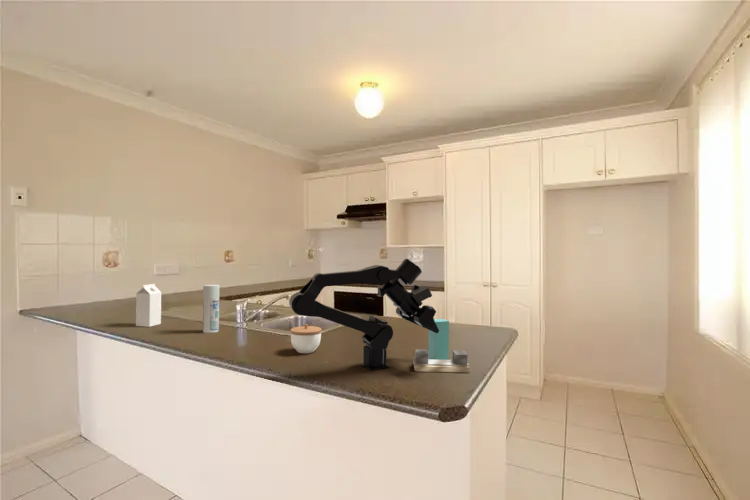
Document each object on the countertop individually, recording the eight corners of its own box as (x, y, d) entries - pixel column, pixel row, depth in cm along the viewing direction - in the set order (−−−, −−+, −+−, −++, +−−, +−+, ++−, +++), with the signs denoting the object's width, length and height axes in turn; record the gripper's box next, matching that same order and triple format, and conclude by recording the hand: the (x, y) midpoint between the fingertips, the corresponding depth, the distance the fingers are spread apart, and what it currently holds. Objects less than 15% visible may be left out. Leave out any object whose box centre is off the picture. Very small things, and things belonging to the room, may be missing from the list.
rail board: (414, 371, 109) (414, 354, 109) (413, 364, 116) (413, 348, 116) (469, 372, 108) (469, 355, 108) (464, 365, 115) (465, 349, 115)
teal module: (434, 363, 117) (435, 321, 117) (428, 359, 121) (428, 319, 121) (448, 361, 119) (449, 321, 119) (441, 357, 123) (442, 318, 123)
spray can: (208, 329, 163) (209, 284, 164) (222, 330, 162) (222, 284, 162) (199, 332, 157) (199, 285, 157) (212, 333, 156) (213, 285, 156)
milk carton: (135, 326, 168) (136, 284, 169) (147, 323, 175) (148, 283, 176) (149, 327, 167) (150, 285, 167) (161, 324, 174) (161, 283, 174)
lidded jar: (327, 350, 131) (327, 323, 131) (305, 357, 122) (305, 328, 122) (306, 345, 137) (306, 320, 137) (283, 351, 128) (284, 324, 129)
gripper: (430, 279, 109) (462, 315, 112) (404, 275, 126) (433, 306, 130) (405, 307, 106) (439, 343, 110) (382, 299, 124) (412, 330, 127)
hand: (431, 329), depth 119 cm, fingers open, 9 cm apart
